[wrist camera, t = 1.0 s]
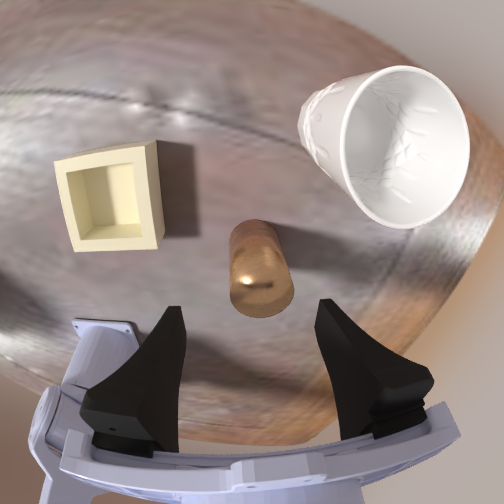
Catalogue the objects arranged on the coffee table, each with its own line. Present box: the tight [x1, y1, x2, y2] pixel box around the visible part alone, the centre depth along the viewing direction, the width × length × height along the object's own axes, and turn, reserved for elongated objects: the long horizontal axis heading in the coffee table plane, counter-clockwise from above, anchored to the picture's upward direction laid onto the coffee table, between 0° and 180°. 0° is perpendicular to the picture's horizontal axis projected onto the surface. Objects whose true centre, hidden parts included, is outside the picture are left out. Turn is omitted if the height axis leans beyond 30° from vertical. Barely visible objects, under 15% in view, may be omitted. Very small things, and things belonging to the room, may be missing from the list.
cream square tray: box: [54, 140, 166, 252], centre depth 18 cm, size 8×8×3 cm
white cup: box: [297, 66, 470, 229], centre depth 14 cm, size 8×8×10 cm
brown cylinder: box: [230, 220, 294, 318], centre depth 20 cm, size 4×4×7 cm
